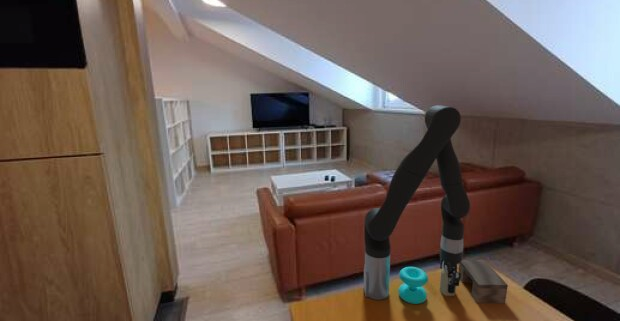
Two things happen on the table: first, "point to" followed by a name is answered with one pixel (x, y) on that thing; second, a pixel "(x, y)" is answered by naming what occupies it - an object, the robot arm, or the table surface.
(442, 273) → the candle
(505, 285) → the bridge
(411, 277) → the turquoise spool
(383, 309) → the table surface
